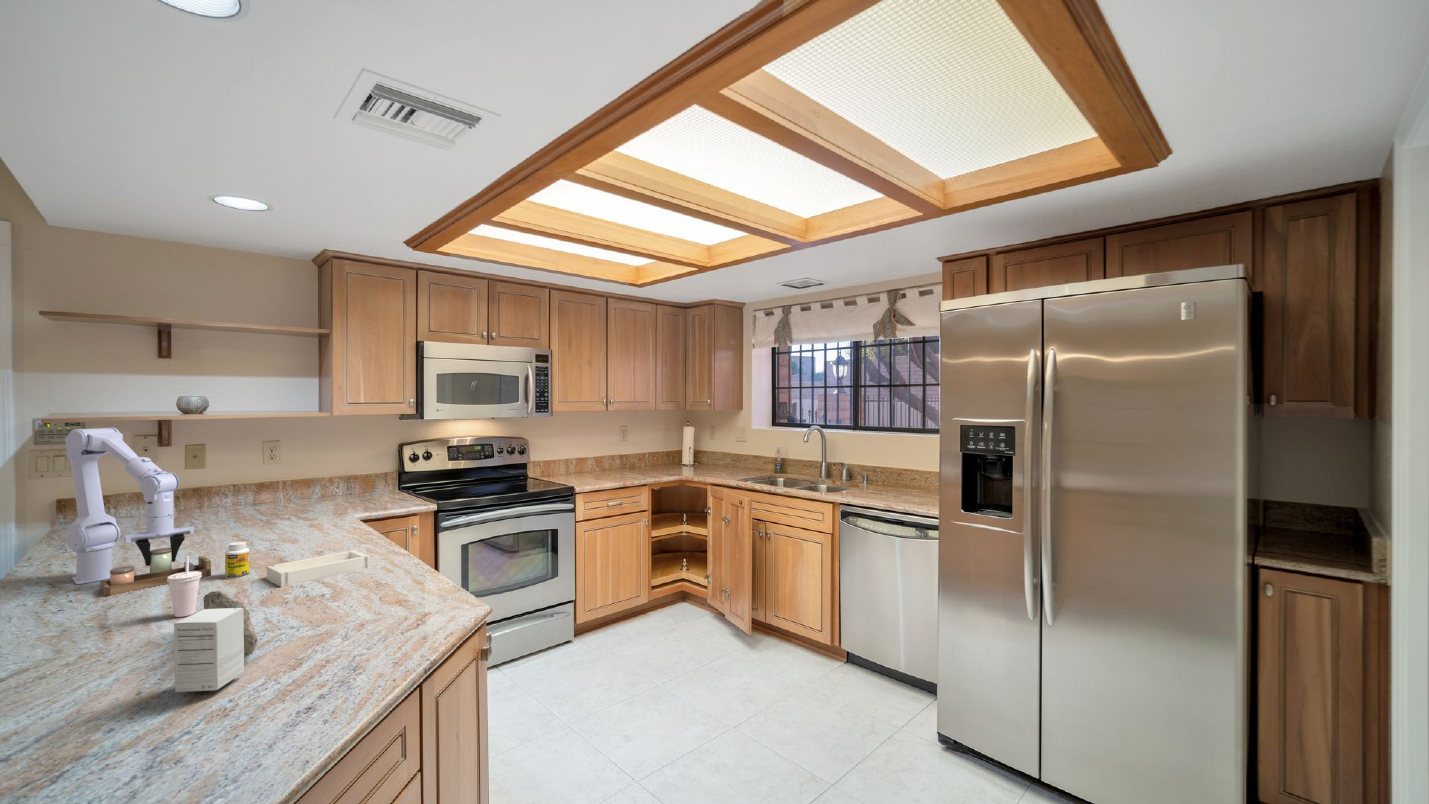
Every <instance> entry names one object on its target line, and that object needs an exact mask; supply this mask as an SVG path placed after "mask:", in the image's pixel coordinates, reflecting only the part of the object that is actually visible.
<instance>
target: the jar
mask: <svg viewBox="0 0 1429 804" xmlns="http://www.w3.org/2000/svg"><path fill="white" fill-rule="evenodd" d="M172 566H173V562H172V548H171V547H163V548H155V549H150V566H149V573H160V572H166V571H170V570H172V569H173V567H172Z"/></svg>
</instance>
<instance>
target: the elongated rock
mask: <svg viewBox="0 0 1429 804" xmlns="http://www.w3.org/2000/svg"><path fill="white" fill-rule="evenodd" d="M202 599H203V600H202V601H203V609H222V608H243V617H244V618H243V619H244V658H245V657H248V656H251V655H252V654H253V652H254V651H255V649H256V646H257V645H258V644H257V642H258V640H259V639H258V637H257V635H256V633H255V626H254V624H253V622H252V620H251V617H250V611H249V610H247V608H246V607H245V605H244V604H243V602H242V601H239V600H234V599H233V598H231V597H229V596H228V595H227V594H224V593H223V592H222V591H220V590H215V591H213V590H212V591H210V592H208V593H207V594H204V596H203V598H202Z"/></svg>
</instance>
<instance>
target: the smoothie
mask: <svg viewBox="0 0 1429 804" xmlns="http://www.w3.org/2000/svg"><path fill="white" fill-rule="evenodd" d="M189 558H190V556H187V555H186V556H185V562H186V572H183V573H177V574H173V575H171V576H168V577H167V582H169V584H168V586H169V591H170V597H171V602H172V603H171V604H172V607H173V613H174V617H176V618H183V617H189V616H191V615H193V614H195V613H196V607H197V601H198V600H197V599H198V593H199V588H200V587H199V586H200V579H201V578H200V577H202V573H201V572H199V571H190V572H189V562H190V559H189Z"/></svg>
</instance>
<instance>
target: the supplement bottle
mask: <svg viewBox="0 0 1429 804" xmlns="http://www.w3.org/2000/svg"><path fill="white" fill-rule="evenodd" d="M224 554H225V556H224V557H225V559H224V563H225V566H224V567H225V568H224V569H225V570H224V571H225V572H224V573H225V574H224V577H225V579H226V580H236V579H242V578H246V577H248V576H249V575H250V548H248V547H247V541H235V542H231V543H229V544H228V549H227V550H226V551H225V553H224Z"/></svg>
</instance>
